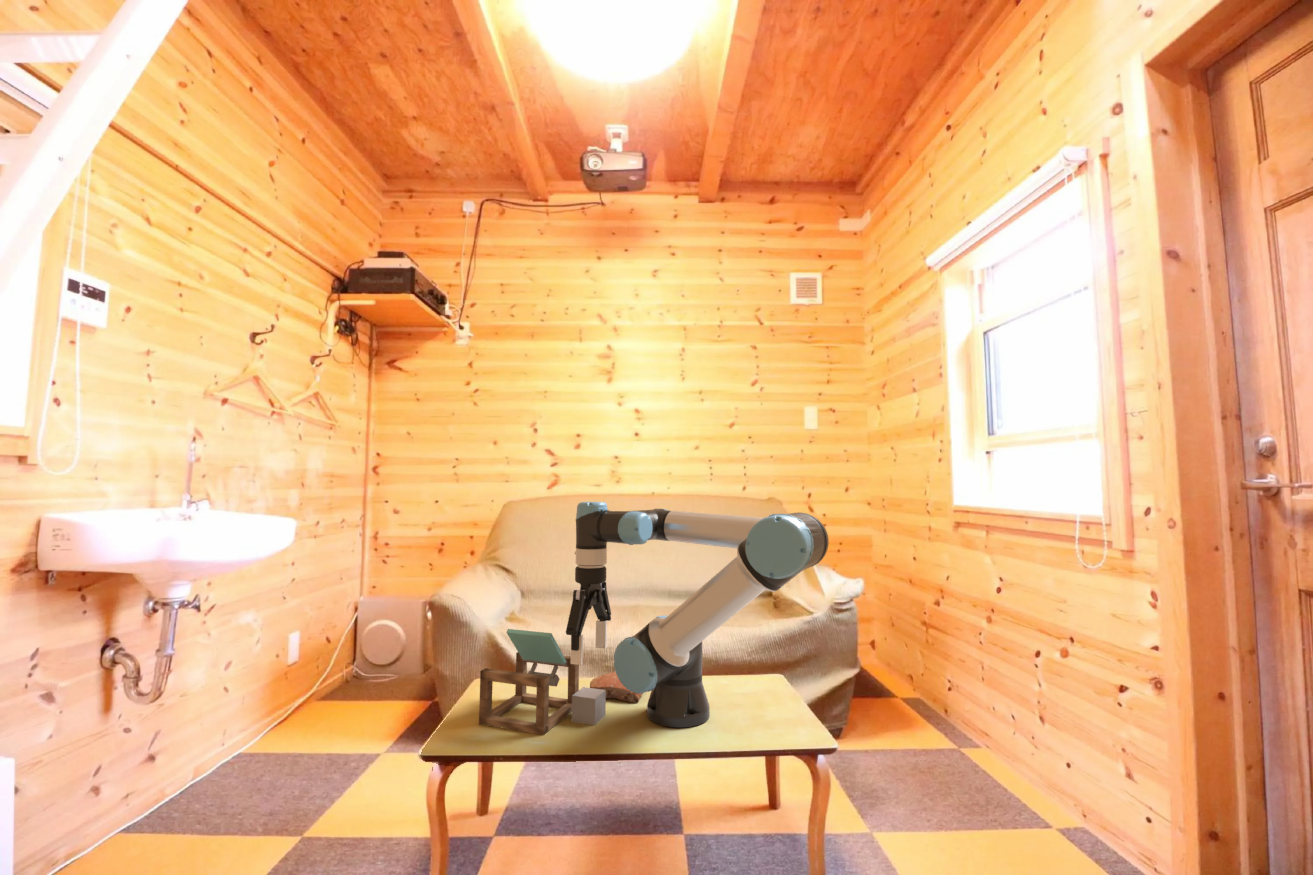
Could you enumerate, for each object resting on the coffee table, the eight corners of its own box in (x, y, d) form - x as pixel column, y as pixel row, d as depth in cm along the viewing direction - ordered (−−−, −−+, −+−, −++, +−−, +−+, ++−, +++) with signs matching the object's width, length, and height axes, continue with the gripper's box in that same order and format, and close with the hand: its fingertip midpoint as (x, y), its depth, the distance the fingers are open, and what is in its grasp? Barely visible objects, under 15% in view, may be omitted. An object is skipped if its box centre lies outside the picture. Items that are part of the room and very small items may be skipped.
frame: (578, 706, 141) (579, 657, 142) (543, 734, 125) (544, 679, 126) (519, 697, 147) (520, 650, 148) (478, 724, 131) (480, 670, 132)
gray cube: (605, 715, 136) (605, 689, 137) (594, 725, 131) (595, 698, 131) (582, 712, 138) (583, 686, 139) (571, 721, 132) (571, 695, 133)
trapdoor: (564, 687, 140) (571, 668, 143) (544, 651, 131) (552, 632, 135) (520, 681, 144) (529, 663, 147) (498, 646, 135) (507, 628, 139)
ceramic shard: (601, 661, 161) (652, 673, 158) (597, 685, 160) (648, 697, 157) (586, 671, 147) (641, 683, 144) (581, 697, 146) (637, 710, 143)
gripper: (598, 558, 150) (596, 640, 148) (551, 572, 127) (549, 669, 125) (624, 559, 148) (623, 643, 146) (582, 574, 124) (580, 673, 123)
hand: (589, 655), depth 135 cm, fingers open, 13 cm apart
